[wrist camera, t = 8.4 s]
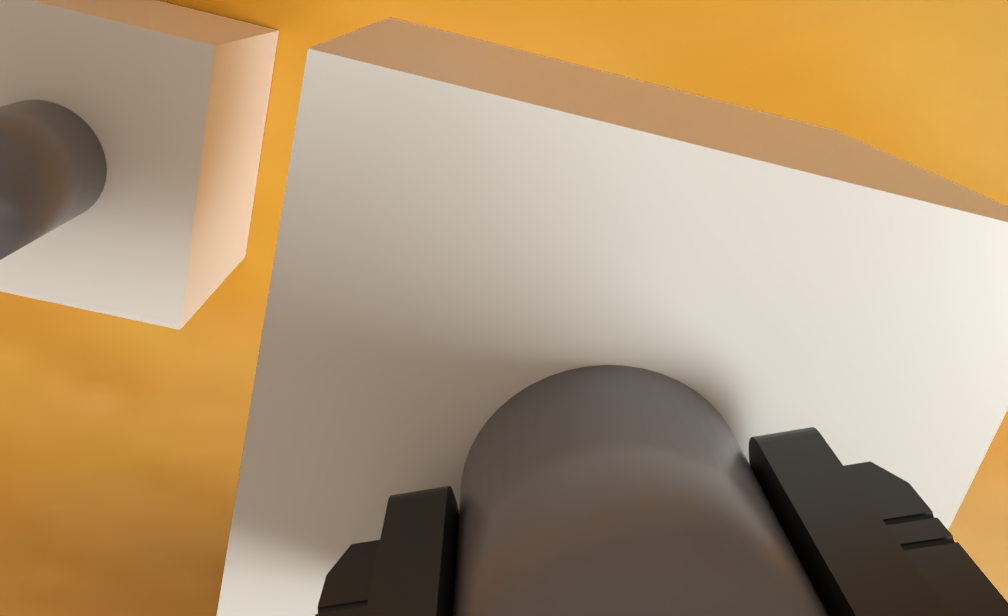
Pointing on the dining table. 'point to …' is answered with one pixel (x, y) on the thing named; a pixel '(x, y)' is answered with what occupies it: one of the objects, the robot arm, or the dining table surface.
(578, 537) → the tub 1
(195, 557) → the dining table surface
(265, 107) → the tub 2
